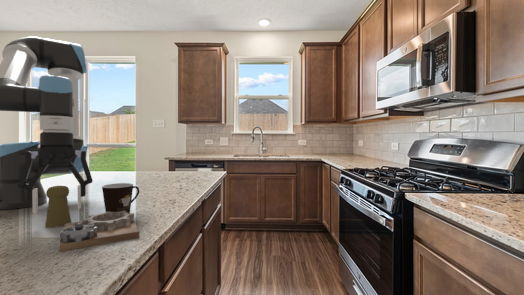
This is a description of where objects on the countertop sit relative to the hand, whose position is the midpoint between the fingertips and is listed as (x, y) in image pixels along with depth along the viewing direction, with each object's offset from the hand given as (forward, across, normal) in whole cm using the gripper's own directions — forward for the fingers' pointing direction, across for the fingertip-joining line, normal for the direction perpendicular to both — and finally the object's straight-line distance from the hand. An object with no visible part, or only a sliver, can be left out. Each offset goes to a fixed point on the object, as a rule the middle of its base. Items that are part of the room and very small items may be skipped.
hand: (58, 210), depth 76 cm
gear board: (+4, +10, -14) cm, 18 cm away
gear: (+3, +5, -20) cm, 21 cm away
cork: (+4, 0, 0) cm, 4 cm away
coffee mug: (+4, +17, 0) cm, 17 cm away
